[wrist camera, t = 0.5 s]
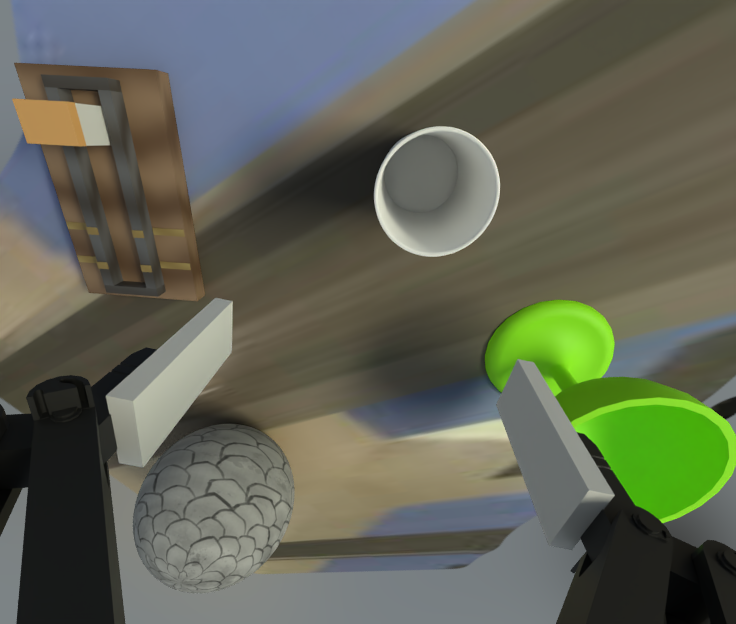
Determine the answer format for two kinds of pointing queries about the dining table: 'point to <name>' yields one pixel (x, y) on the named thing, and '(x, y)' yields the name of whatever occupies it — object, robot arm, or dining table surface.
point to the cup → (436, 191)
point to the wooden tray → (123, 182)
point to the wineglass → (619, 408)
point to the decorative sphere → (213, 508)
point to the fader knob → (62, 123)
